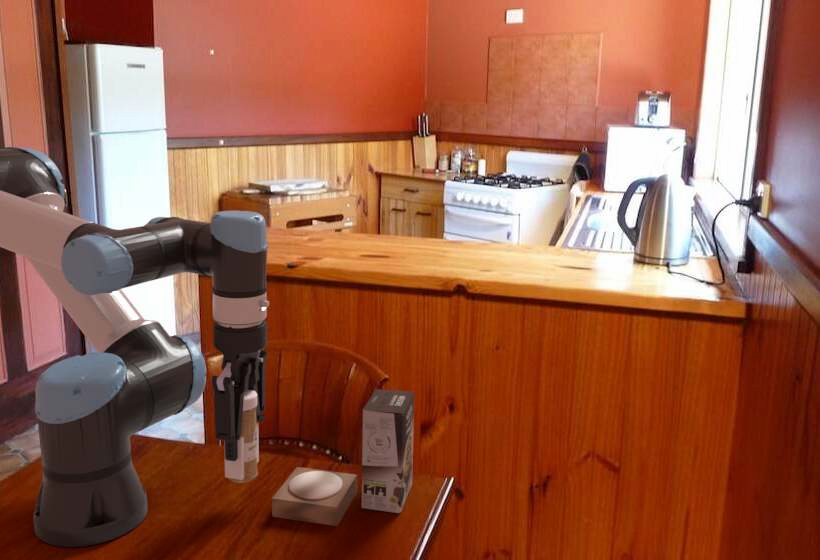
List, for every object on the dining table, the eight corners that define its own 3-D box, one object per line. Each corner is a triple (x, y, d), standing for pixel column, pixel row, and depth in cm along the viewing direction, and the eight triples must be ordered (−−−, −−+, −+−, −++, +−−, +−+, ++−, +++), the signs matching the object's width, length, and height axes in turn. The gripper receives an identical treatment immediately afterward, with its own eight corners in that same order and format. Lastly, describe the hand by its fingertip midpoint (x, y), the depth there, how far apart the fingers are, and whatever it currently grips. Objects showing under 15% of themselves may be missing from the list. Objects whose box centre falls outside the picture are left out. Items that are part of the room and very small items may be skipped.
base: (272, 516, 108) (271, 495, 108) (297, 483, 118) (297, 464, 117) (337, 526, 106) (336, 504, 106) (357, 492, 116) (357, 472, 115)
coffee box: (401, 514, 110) (403, 413, 106) (360, 509, 111) (360, 409, 107) (413, 484, 118) (416, 390, 115) (375, 480, 120) (376, 387, 116)
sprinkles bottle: (259, 482, 109) (259, 397, 106) (228, 485, 108) (226, 400, 105) (255, 467, 113) (255, 386, 110) (225, 471, 112) (224, 388, 109)
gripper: (237, 342, 96) (239, 502, 101) (288, 307, 112) (287, 447, 118) (185, 335, 97) (190, 494, 103) (242, 302, 114) (244, 440, 119)
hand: (242, 469), depth 110 cm, fingers closed on sprinkles bottle, 4 cm apart
